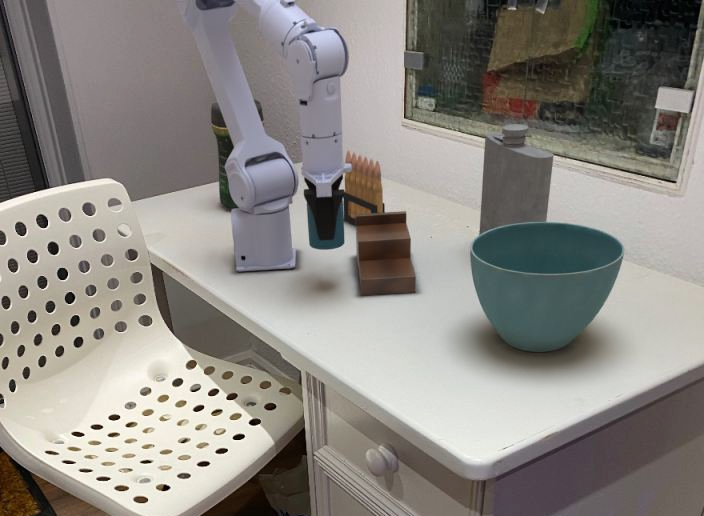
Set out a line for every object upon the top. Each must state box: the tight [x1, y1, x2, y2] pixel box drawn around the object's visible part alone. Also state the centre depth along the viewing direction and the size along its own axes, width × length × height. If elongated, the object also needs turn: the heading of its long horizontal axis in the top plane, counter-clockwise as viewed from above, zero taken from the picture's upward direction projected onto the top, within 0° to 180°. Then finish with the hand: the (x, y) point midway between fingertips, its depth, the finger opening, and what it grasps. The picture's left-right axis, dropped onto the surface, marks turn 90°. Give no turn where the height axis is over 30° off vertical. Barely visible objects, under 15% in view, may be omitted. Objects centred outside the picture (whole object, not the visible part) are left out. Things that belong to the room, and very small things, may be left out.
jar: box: [306, 199, 345, 251], centre depth 119 cm, size 5×5×6 cm
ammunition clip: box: [342, 150, 386, 227], centre depth 141 cm, size 11×2×12 cm, turn 31°
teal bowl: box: [469, 221, 625, 353], centre depth 103 cm, size 18×18×12 cm
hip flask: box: [478, 123, 555, 236], centre depth 121 cm, size 16×4×20 cm, turn 19°
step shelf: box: [355, 210, 417, 296], centre depth 125 cm, size 8×16×7 cm, turn 1°
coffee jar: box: [210, 98, 265, 210], centre depth 153 cm, size 10×8×19 cm
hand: (326, 232), depth 119 cm, fingers closed on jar, 5 cm apart
